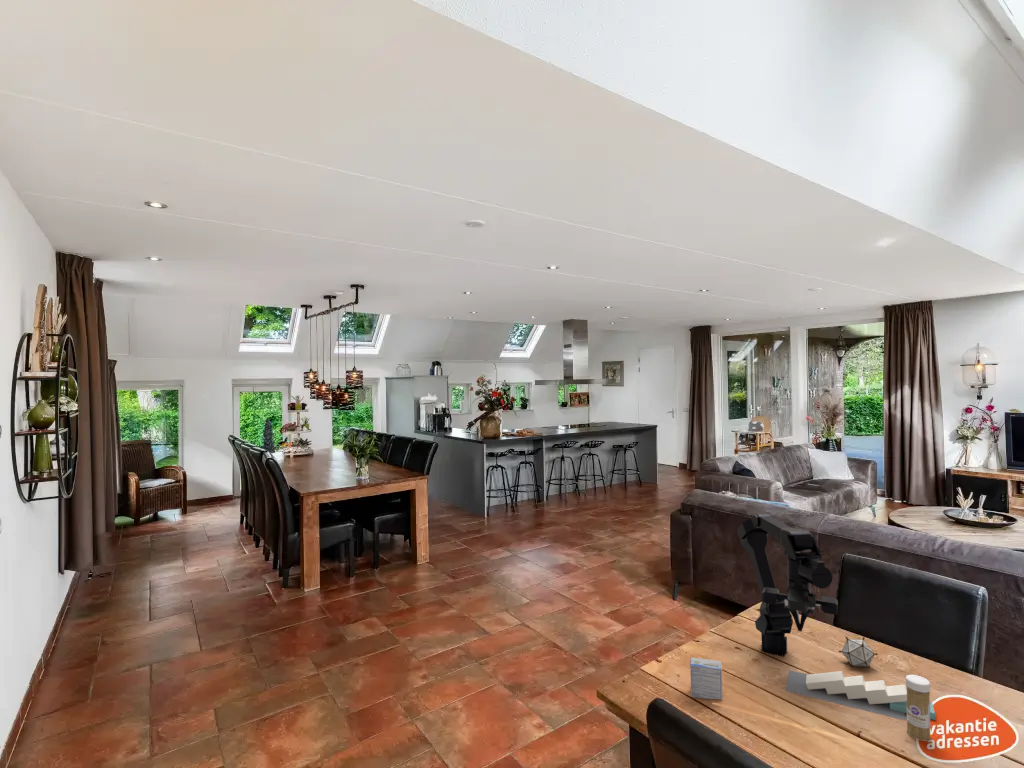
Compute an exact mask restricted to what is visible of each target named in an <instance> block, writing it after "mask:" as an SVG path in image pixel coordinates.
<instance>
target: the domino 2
mask: <svg viewBox="0 0 1024 768" xmlns="http://www.w3.org/2000/svg"><path fill="white" fill-rule="evenodd" d="M865 682H866V680H865V677H864V676H863V675H855V676H854V675H853V676H845V686H843V687H832V688H826V691H827V693H828V694H839V693H850V692H861V691H866V685H865Z"/></svg>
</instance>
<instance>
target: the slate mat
mask: <svg viewBox="0 0 1024 768" xmlns="http://www.w3.org/2000/svg"><path fill="white" fill-rule="evenodd" d="M807 675H809V674H807V673H804V672H799V671H794V670H790V669H789V670H788V673H787V681H786V684H785V685H786V686H785V692H788V693H792V694H796V695H799V696H804V697H808V698H813V699H815V700H821V701H826V702H830V703H834V704H837V705H841V706H845V707H849V708H854V709H856V710H857V709H858V710H861V711H865V712H870V713H873V714H877V715H882V716H886V717H891V718H894V719H899V720H902V721H907V717H906V713H904V712H900V711H896V710H891V709H890V706H889V703H880V704H869V702H868V700H867V698H858V699H848V697H847V694H846V693H839V694H828V693H827V691H826V688H821V689H811V690H808V688H807V685H806V676H807Z"/></svg>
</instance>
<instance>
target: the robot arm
mask: <svg viewBox="0 0 1024 768" xmlns="http://www.w3.org/2000/svg"><path fill="white" fill-rule="evenodd" d="M736 532H737V533H736V534H737V537H738V538H739V541H740V544H741V546H742V547H743V549H745V550H746V552H747V553H749V557H750V561H751V565H752V567H753V572H754V575H755V578H756V583H757V587H758V589H759V592H760V593H759V594H760V597H761V603H760V607H759V609H758V610H759V616H758V618H757V619H756V620H755V621H754V624H755V629H756V630H757V631H759V633H761V634H760V635H761V649H760V652H762V653H765V654H769V655H774V656H779V657H785V655H787V653H788V637H787V636H786V634H789V635H791V632H792V627H793V624H794V623H795V626H796V629H797V631H798V632H802V631H803V628H804V625H805V622H806V619H807V618H808V616H809V615H810V614H815V608H817V607H819V608H821V611H822V612H823V613H824V614H829V615H834V616H837V615H839V601H838V599H837V598H836V597H830V596H825V595H821V599H820V598H819V599H818V598H817V597H816V596H817V595H816V593H811V585H813V586H814V587H816V588H818V589H825V588H828V587H829V586H831V584H832V582H833V574H832V571H831V570H830V569H829V568H828V567H826V562H824V561H822V560H821V559H822V558H823V557H822V555H821V554H822V553H821V549H820V548H819V545H817V542H816V539H815V538H814V536H813V535H812V533H811V532H810V531H809V530H807V529H804V528H796V527H790V526H789V525H787V524H785V523H783V522H781V521H780V520H778V519H776V518H774V517H772V516H771V514H768V513H759V514H758V513H756V514H753V515H752V516H751V517H750V518H749V519H747V520H745V521H743V522H742V523H741V524H740V525H739V526H738V528H737V530H736ZM769 535H770V536H773V537H774V538H776V539H778V540H779V541H780V545H781V546H782V547H783V548H784V551H783V552H782V554H783V555H784V556H786V558H787V559H786V560H787V561H786V562H787V563H786V564H787V588H786V593H782V592H781V593H780V590H779V588H777V587H776V583H775V579H774V576H773V573H772V569H771V565H770V562H769V558H768V555H767V552H766V548H767V545H768V542H769V540H768V536H769ZM800 611H801V614H799V612H800Z"/></svg>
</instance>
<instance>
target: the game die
mask: <svg viewBox="0 0 1024 768" xmlns="http://www.w3.org/2000/svg"><path fill="white" fill-rule="evenodd" d="M845 639H846V641H845V643H844V645H843V647H842V650H838V652H839V653H842V655H843V656H844V657H845V659H846V660H847V661H848V662H849V663H850V665H851V666H850V667H852V668H853V667H865V668H871V666H870V665H871V663H872V661H873V659H874V657H875V656H878V655H879V653H877V652H874V651H873V649H872V648H871V647H870V646H869V645H868V644H867V642H866V641H865V639H866V638H865V636H863V637H862V638H861V639H859V638H849V637H847V636H846V635H845Z"/></svg>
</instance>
